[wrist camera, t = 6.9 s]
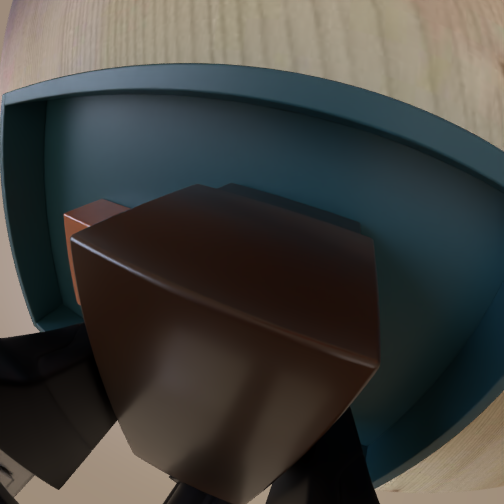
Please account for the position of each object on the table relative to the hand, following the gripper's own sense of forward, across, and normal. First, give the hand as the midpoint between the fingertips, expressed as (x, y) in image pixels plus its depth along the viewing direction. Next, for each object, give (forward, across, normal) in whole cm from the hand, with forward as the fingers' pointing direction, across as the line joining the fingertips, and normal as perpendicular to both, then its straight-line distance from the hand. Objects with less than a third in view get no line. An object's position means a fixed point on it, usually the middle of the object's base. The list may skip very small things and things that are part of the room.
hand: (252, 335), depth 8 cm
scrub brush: (+1, 0, 0) cm, 1 cm away
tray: (+2, +3, 0) cm, 3 cm away
